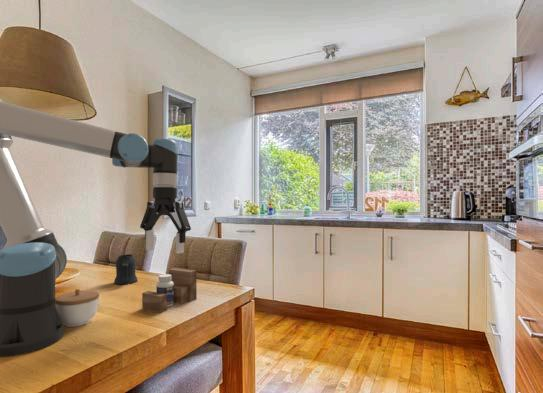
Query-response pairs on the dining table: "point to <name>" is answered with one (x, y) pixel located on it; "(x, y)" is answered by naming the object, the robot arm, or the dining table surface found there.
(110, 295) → the dining table surface
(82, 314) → the lidded jar
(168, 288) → the pill bottle
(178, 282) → the cluster of brown boxes
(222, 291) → the dining table surface
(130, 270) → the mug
